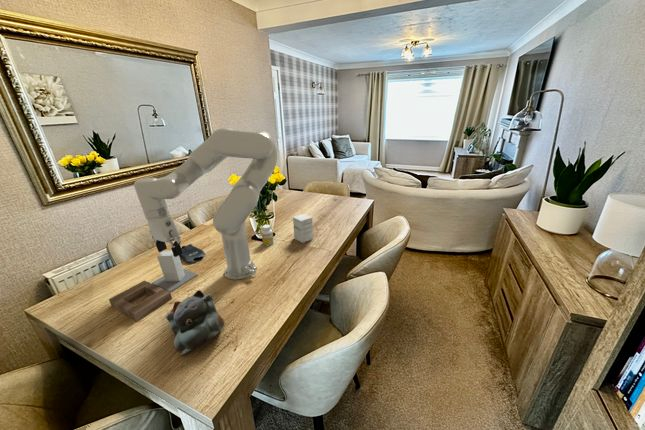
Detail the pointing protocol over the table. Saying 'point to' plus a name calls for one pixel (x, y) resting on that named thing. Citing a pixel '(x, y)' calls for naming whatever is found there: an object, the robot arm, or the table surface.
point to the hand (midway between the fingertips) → (170, 252)
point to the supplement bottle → (267, 235)
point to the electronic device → (191, 253)
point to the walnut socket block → (144, 307)
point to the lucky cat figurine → (194, 321)
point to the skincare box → (171, 266)
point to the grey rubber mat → (174, 285)
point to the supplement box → (303, 228)
